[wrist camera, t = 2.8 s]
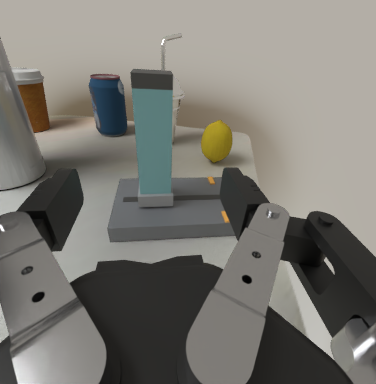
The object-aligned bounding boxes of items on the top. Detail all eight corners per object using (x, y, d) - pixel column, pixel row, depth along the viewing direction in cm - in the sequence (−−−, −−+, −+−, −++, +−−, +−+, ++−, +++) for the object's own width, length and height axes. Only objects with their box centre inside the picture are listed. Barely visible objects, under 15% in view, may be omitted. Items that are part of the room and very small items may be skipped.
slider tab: (138, 207, 25) (126, 72, 17) (140, 188, 28) (131, 68, 20) (173, 206, 25) (176, 75, 18) (170, 187, 29) (173, 70, 21)
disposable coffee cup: (66, 126, 53) (52, 70, 46) (30, 138, 45) (6, 74, 38) (38, 120, 55) (20, 66, 48) (-1, 130, 48) (-29, 68, 41)
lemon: (205, 154, 44) (209, 114, 39) (231, 160, 42) (239, 119, 38) (195, 164, 40) (198, 121, 35) (223, 172, 38) (231, 127, 34)
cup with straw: (138, 138, 49) (130, 28, 38) (174, 133, 53) (176, 33, 42) (152, 152, 43) (148, 27, 32) (191, 146, 47) (199, 32, 36)
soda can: (133, 130, 53) (129, 76, 46) (116, 139, 47) (108, 79, 41) (109, 126, 55) (102, 72, 48) (90, 134, 49) (79, 75, 42)
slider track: (110, 241, 23) (107, 227, 22) (121, 190, 31) (119, 177, 30) (242, 234, 25) (245, 221, 24) (220, 188, 33) (222, 176, 32)
